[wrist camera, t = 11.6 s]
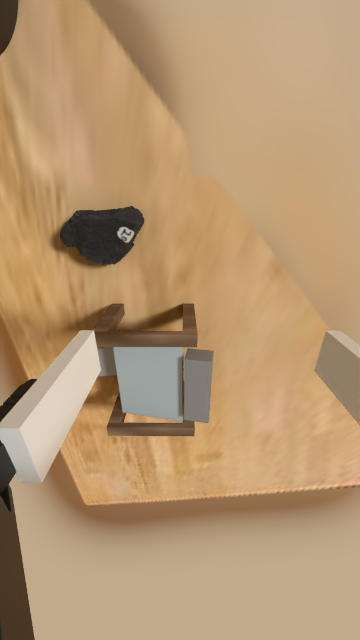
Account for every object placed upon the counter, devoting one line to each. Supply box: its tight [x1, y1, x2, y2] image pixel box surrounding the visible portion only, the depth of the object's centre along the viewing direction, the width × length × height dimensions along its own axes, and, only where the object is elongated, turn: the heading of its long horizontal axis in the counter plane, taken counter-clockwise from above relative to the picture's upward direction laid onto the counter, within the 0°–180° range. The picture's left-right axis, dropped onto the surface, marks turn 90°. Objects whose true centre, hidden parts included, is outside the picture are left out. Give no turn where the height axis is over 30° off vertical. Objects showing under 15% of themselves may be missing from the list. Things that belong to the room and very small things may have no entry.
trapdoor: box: [113, 347, 213, 423], centre depth 38 cm, size 15×16×3 cm
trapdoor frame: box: [93, 304, 197, 436], centre depth 42 cm, size 20×15×12 cm
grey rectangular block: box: [97, 347, 117, 377], centre depth 45 cm, size 6×5×8 cm
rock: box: [60, 206, 144, 264], centre depth 35 cm, size 10×9×6 cm
